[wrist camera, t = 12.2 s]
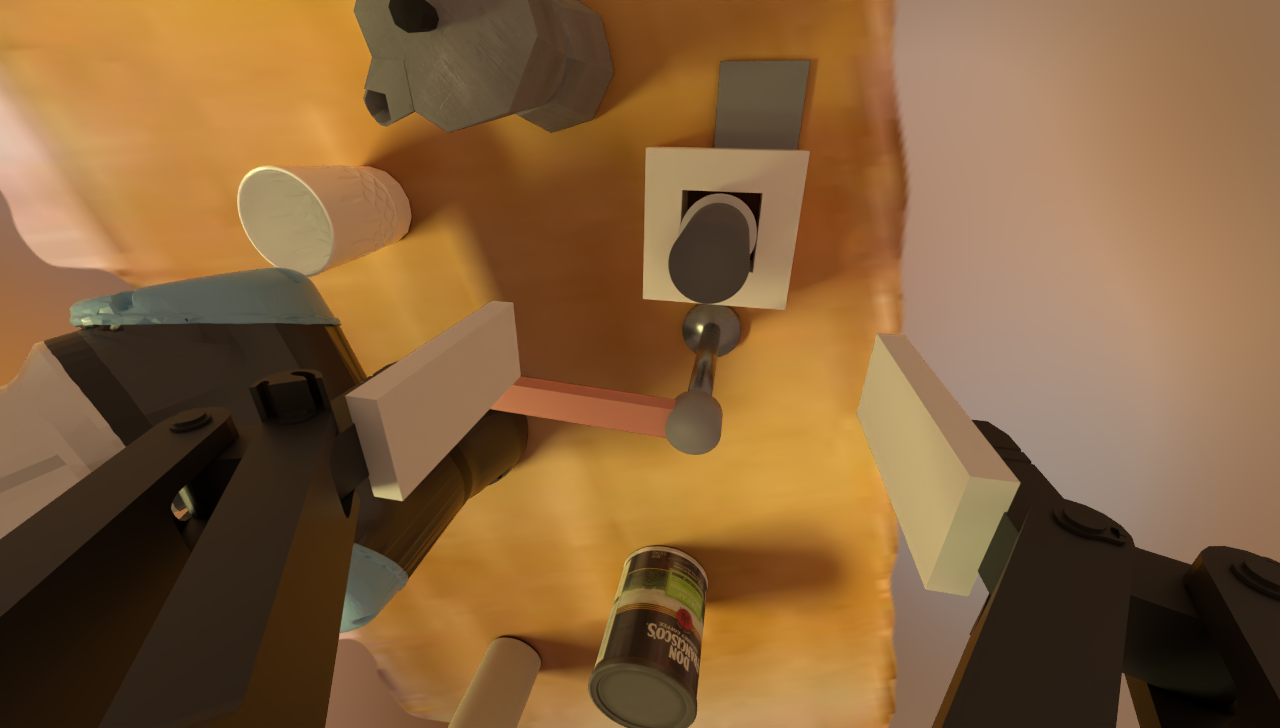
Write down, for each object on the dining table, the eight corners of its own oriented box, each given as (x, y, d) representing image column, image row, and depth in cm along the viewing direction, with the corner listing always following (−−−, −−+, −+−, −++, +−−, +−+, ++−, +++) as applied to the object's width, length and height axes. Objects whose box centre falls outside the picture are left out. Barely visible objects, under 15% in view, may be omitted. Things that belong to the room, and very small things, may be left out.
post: (737, 356, 43) (733, 450, 30) (682, 351, 44) (655, 440, 31) (743, 303, 41) (742, 380, 28) (685, 298, 42) (657, 371, 29)
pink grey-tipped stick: (725, 394, 28) (724, 412, 27) (718, 439, 30) (717, 458, 28) (467, 356, 31) (450, 370, 29) (471, 399, 32) (456, 414, 30)
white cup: (330, 157, 43) (221, 162, 34) (410, 161, 41) (318, 168, 32) (350, 246, 46) (256, 272, 37) (424, 252, 45) (345, 281, 36)
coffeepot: (535, 174, 40) (392, 201, 24) (457, 70, 37) (243, 23, 22) (687, 34, 33) (633, -58, 18) (605, -100, 31) (457, -345, 15)
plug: (751, 258, 39) (753, 316, 27) (685, 254, 40) (657, 308, 28) (759, 188, 37) (765, 216, 24) (689, 186, 38) (661, 211, 25)
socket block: (781, 294, 40) (785, 310, 36) (651, 285, 42) (642, 298, 38) (803, 149, 35) (810, 151, 31) (655, 146, 37) (645, 147, 33)
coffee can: (660, 530, 54) (633, 650, 41) (726, 583, 55) (720, 715, 43) (605, 571, 58) (566, 689, 46) (668, 619, 60) (647, 747, 47)
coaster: (795, 157, 35) (796, 157, 35) (713, 155, 36) (713, 155, 36) (809, 61, 33) (810, 60, 32) (720, 62, 34) (720, 61, 33)
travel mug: (480, 638, 70) (401, 787, 54) (525, 632, 67) (455, 787, 51) (507, 673, 72) (439, 826, 56) (551, 669, 69) (492, 828, 53)
